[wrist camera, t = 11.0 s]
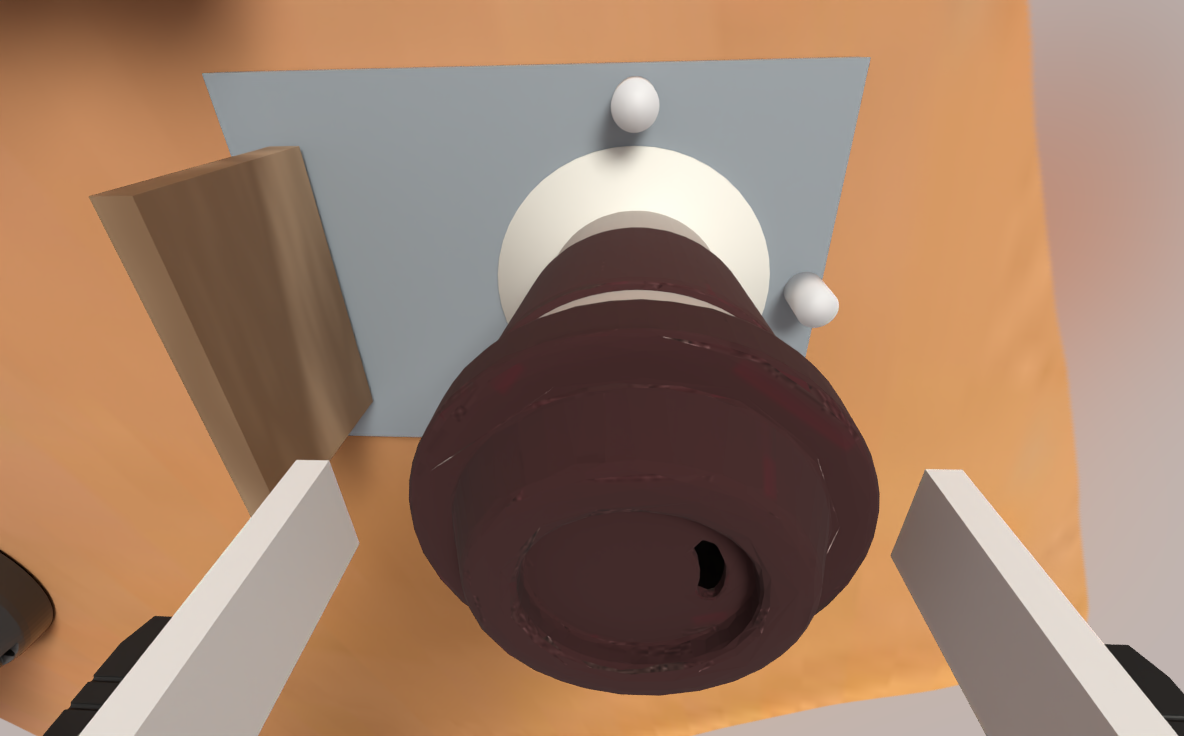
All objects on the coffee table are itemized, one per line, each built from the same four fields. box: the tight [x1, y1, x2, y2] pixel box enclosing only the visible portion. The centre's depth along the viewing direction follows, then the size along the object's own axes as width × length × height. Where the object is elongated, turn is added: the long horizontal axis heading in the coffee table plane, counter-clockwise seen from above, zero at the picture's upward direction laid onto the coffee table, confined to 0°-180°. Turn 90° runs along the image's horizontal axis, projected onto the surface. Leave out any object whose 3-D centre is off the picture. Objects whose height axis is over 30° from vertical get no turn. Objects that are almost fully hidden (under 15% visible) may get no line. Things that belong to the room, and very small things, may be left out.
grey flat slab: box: [202, 57, 871, 437], centre depth 23 cm, size 24×17×3 cm
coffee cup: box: [409, 211, 879, 695], centre depth 16 cm, size 10×10×15 cm
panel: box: [89, 146, 373, 517], centre depth 20 cm, size 3×12×8 cm, turn 1°
